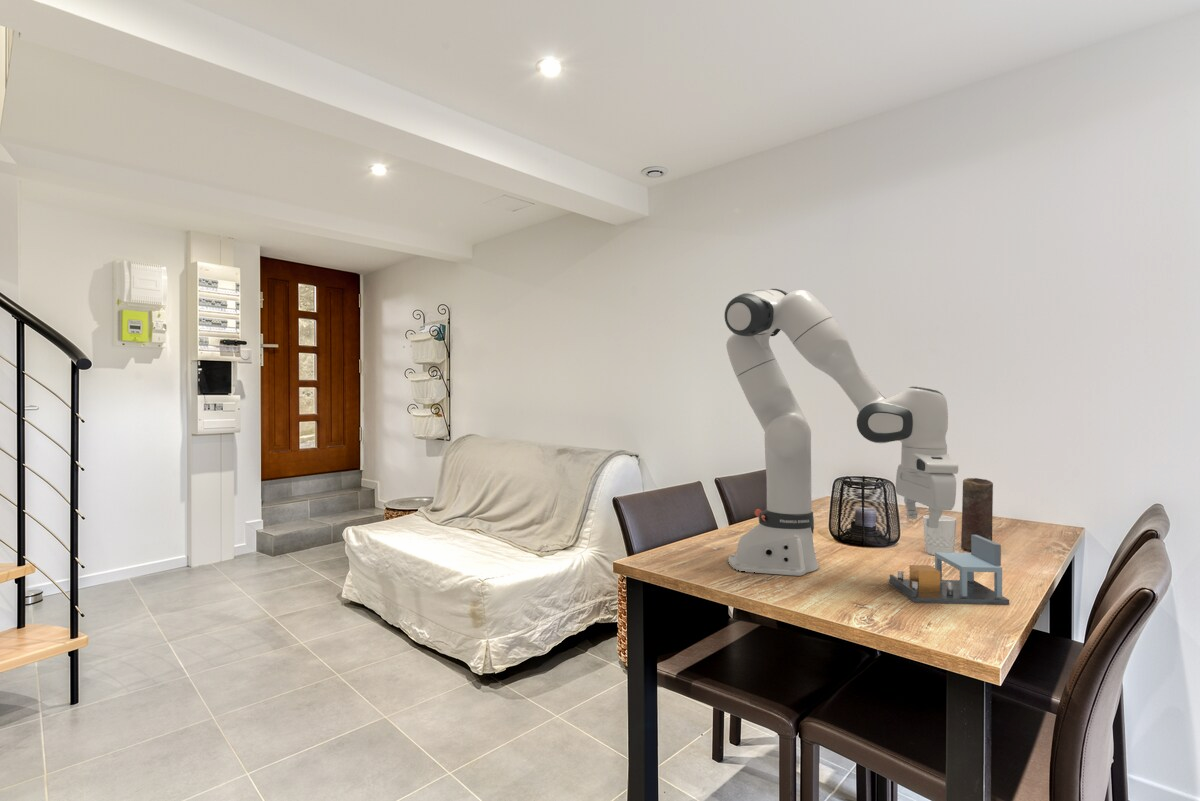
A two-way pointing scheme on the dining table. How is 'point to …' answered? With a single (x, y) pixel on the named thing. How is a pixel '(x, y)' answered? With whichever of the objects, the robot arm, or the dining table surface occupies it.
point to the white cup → (940, 535)
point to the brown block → (925, 578)
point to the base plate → (947, 592)
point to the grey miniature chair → (975, 563)
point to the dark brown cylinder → (976, 510)
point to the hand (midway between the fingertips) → (921, 522)
